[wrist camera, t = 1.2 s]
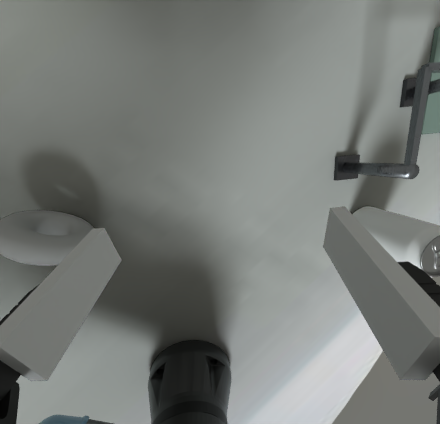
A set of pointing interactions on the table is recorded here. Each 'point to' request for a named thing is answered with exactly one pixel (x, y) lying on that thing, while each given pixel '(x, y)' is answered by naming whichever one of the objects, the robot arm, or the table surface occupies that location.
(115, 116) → the table surface
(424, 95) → the dark grey angled piece
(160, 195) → the table surface
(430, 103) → the mat
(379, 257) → the robot arm
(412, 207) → the table surface
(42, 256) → the donut
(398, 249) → the can
